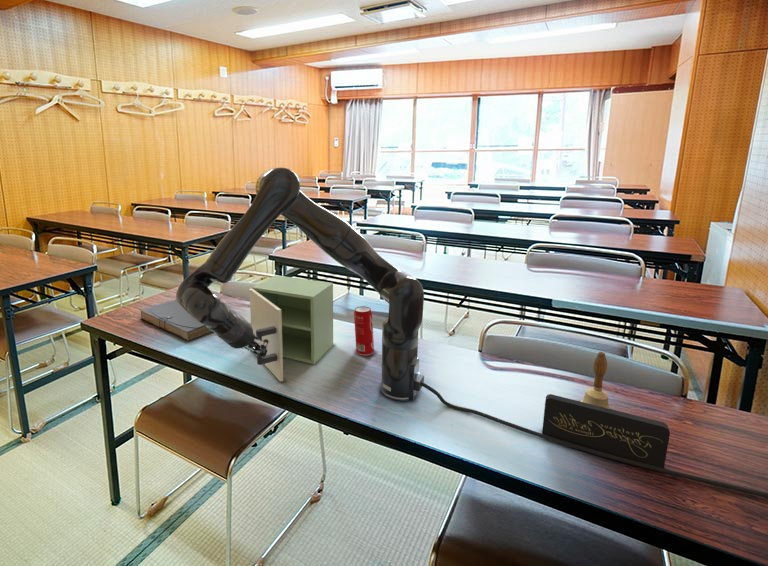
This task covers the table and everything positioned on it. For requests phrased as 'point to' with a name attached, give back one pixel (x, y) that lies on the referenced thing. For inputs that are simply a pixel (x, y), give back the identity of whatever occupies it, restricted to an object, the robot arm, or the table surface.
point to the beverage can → (364, 330)
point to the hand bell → (597, 384)
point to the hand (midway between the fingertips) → (261, 352)
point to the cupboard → (302, 315)
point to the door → (267, 331)
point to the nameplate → (606, 430)
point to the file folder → (174, 320)
